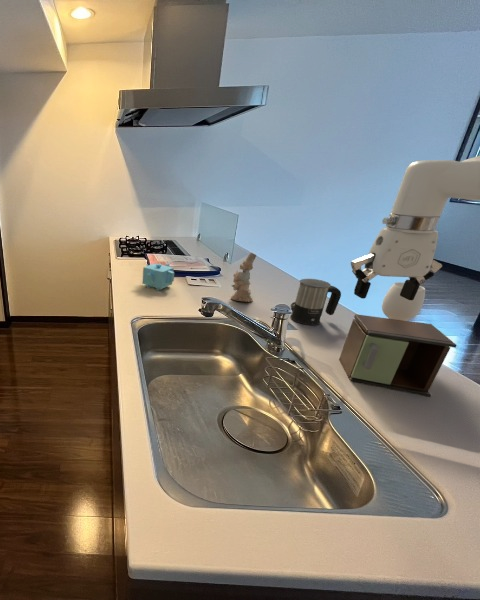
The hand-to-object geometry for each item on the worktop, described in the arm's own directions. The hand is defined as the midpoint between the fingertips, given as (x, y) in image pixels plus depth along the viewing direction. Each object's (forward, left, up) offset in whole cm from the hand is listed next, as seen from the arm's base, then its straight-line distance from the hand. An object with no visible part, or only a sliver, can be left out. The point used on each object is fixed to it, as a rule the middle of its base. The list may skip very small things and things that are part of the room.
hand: (382, 297), depth 74 cm
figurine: (+25, -52, -25) cm, 63 cm away
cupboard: (-9, -8, -25) cm, 28 cm away
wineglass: (-15, -25, -25) cm, 38 cm away
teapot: (+61, -55, -25) cm, 86 cm away
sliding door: (-5, -1, -24) cm, 24 cm away
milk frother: (+4, -43, -25) cm, 50 cm away
